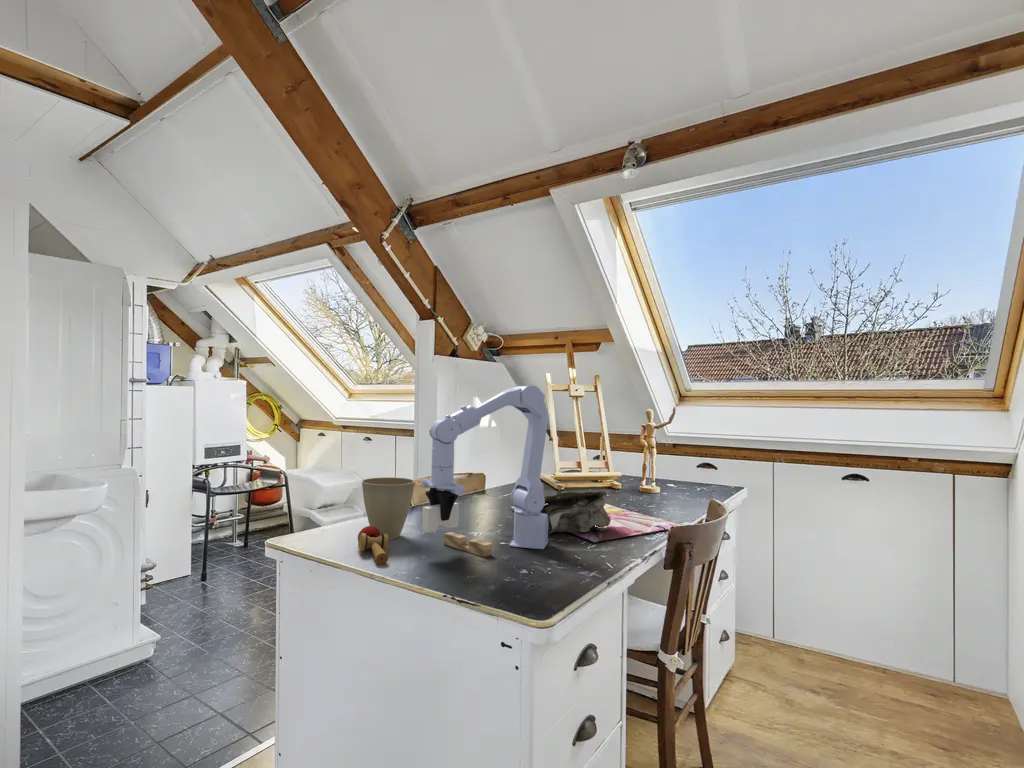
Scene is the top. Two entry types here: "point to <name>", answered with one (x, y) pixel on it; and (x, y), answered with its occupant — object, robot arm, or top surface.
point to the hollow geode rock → (576, 512)
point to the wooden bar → (473, 546)
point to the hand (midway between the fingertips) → (441, 519)
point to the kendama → (374, 543)
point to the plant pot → (387, 503)
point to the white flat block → (438, 518)
